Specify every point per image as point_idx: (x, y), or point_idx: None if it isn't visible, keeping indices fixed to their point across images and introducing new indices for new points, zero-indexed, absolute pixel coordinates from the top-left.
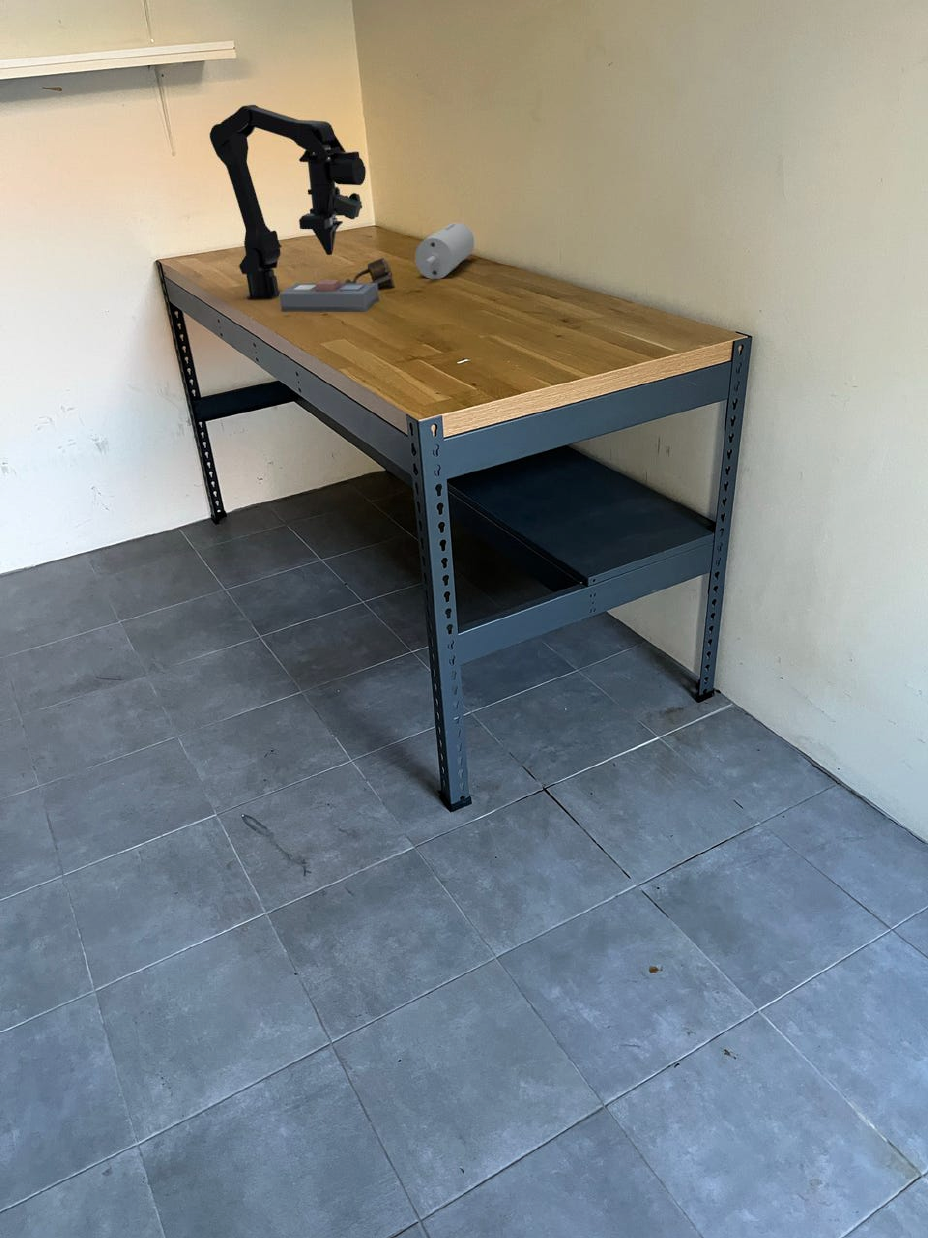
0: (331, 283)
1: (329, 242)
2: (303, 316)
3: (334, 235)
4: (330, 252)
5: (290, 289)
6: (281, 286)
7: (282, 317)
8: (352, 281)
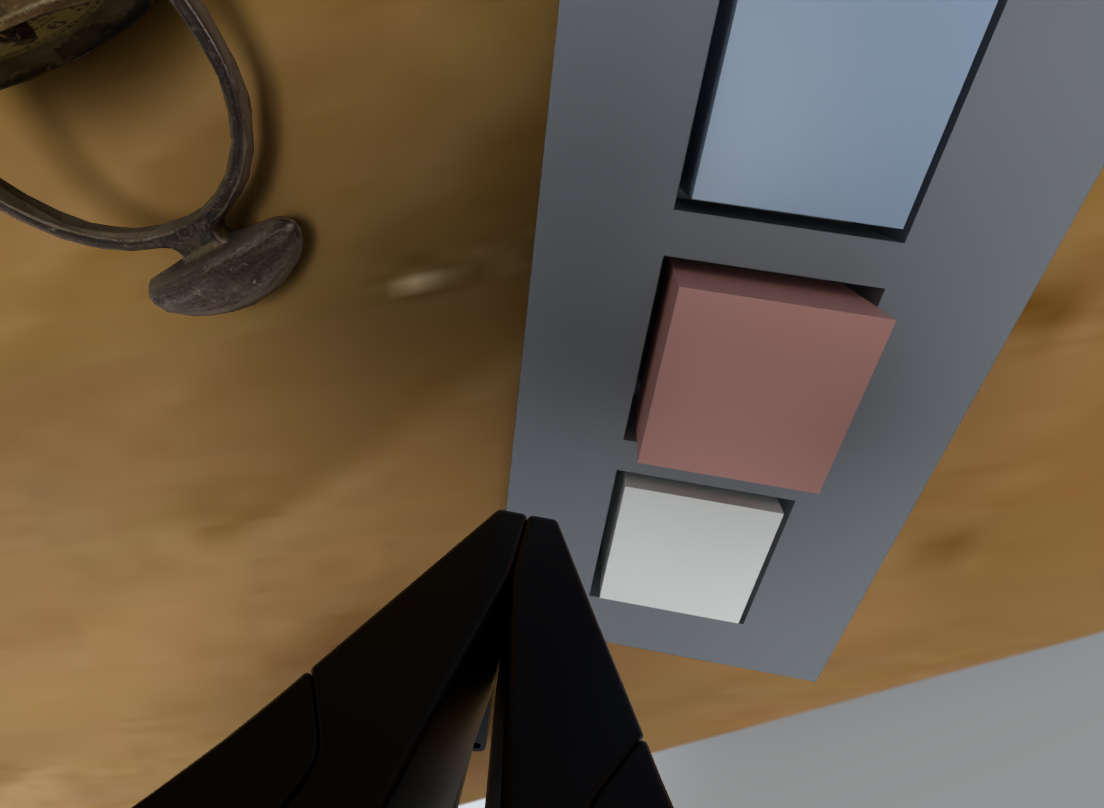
0: (853, 346)
1: (627, 728)
2: (1001, 455)
3: (284, 785)
4: (567, 547)
5: (690, 634)
6: (227, 647)
7: (962, 568)
8: (185, 250)
